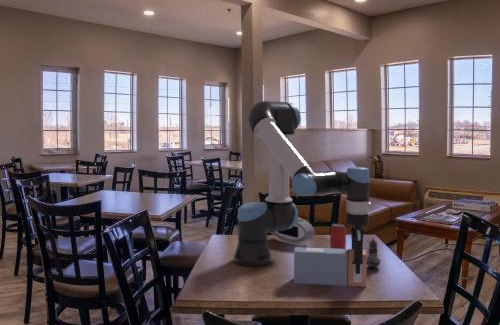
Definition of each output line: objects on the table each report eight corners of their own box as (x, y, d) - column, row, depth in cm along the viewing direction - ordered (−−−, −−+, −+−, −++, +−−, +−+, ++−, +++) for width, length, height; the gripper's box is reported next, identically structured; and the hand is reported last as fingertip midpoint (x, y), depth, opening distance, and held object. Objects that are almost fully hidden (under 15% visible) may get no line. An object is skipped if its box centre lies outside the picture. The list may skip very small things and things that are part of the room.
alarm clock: (269, 239, 206) (269, 213, 205) (278, 236, 210) (278, 211, 209) (306, 248, 189) (306, 220, 188) (314, 246, 193) (314, 218, 192)
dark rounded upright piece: (364, 270, 159) (364, 239, 158) (365, 265, 164) (365, 235, 163) (380, 272, 157) (380, 240, 156) (381, 267, 162) (381, 237, 161)
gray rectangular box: (293, 283, 145) (294, 251, 145) (294, 277, 151) (295, 246, 150) (347, 286, 143) (347, 253, 142) (345, 280, 149) (346, 248, 148)
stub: (348, 285, 143) (348, 253, 142) (346, 279, 148) (347, 248, 148) (366, 286, 142) (366, 254, 141) (364, 280, 148) (364, 249, 147)
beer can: (336, 255, 179) (336, 227, 178) (327, 251, 185) (327, 224, 184) (348, 253, 181) (349, 225, 181) (339, 249, 187) (340, 222, 187)
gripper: (372, 218, 133) (371, 289, 135) (365, 207, 152) (364, 270, 154) (348, 217, 134) (347, 288, 136) (344, 207, 153) (343, 269, 155)
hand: (356, 278), depth 145 cm, fingers closed on stub, 6 cm apart
